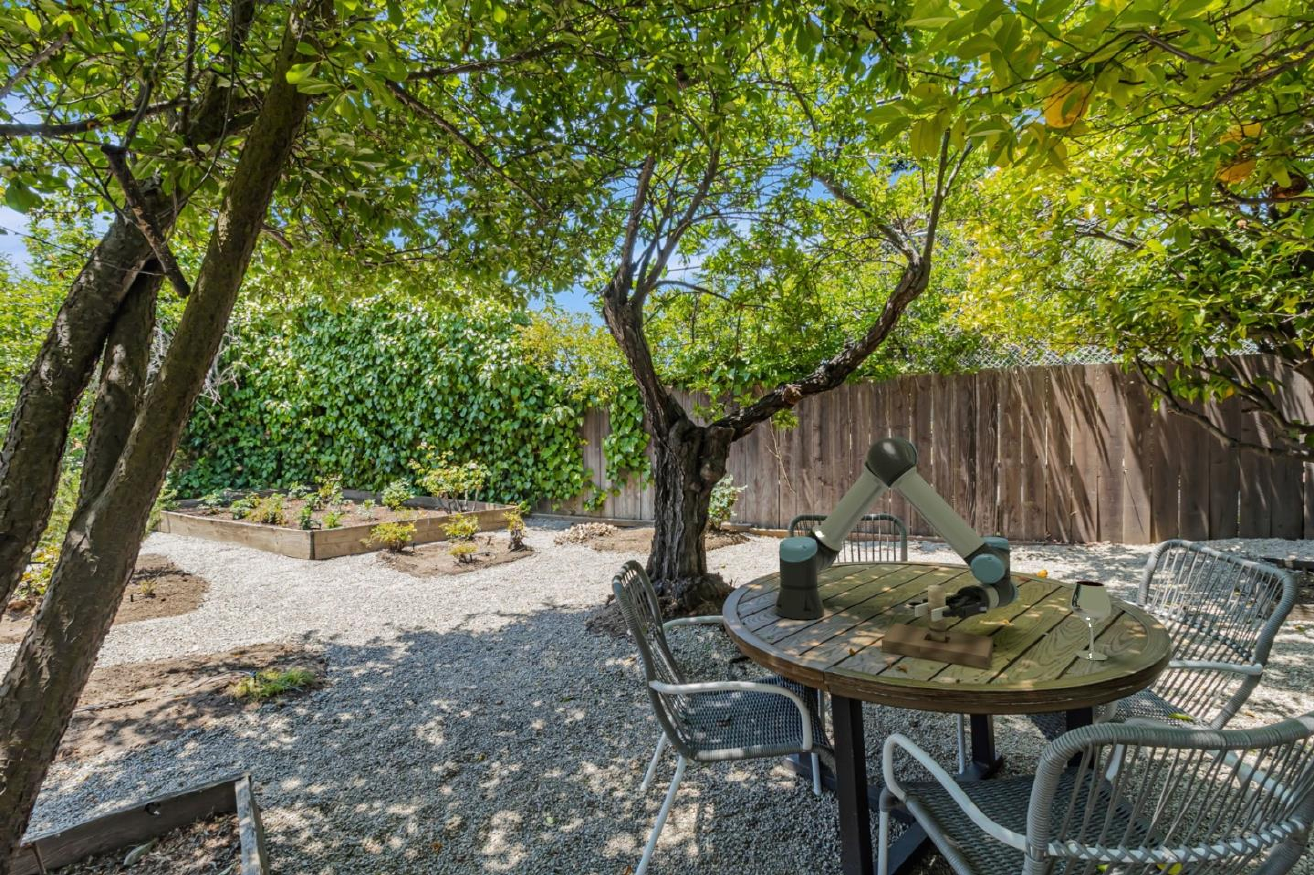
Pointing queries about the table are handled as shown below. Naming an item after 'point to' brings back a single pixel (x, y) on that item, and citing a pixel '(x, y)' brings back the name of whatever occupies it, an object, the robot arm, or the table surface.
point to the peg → (936, 601)
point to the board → (939, 646)
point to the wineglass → (1090, 610)
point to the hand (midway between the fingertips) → (924, 613)
